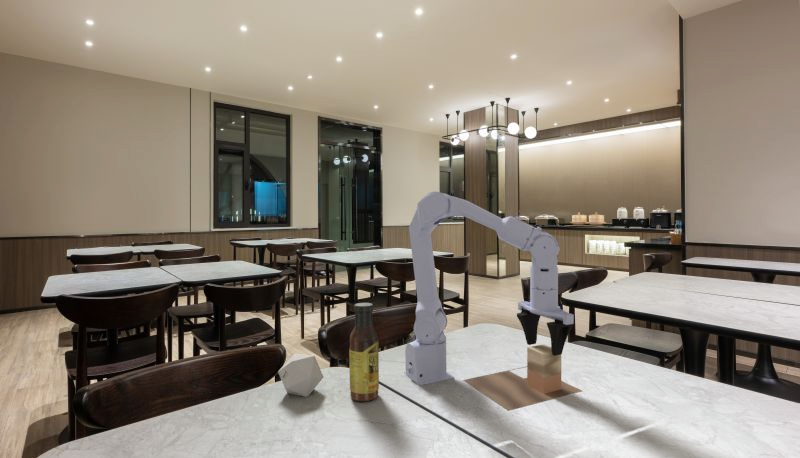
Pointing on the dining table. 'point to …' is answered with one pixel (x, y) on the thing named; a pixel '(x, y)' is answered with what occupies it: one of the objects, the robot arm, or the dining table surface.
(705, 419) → the dining table surface
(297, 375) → the die
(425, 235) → the robot arm
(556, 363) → the maple block
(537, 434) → the dining table surface
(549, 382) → the terracotta base block
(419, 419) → the dining table surface
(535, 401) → the build board
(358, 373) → the sauce bottle
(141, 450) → the dining table surface
